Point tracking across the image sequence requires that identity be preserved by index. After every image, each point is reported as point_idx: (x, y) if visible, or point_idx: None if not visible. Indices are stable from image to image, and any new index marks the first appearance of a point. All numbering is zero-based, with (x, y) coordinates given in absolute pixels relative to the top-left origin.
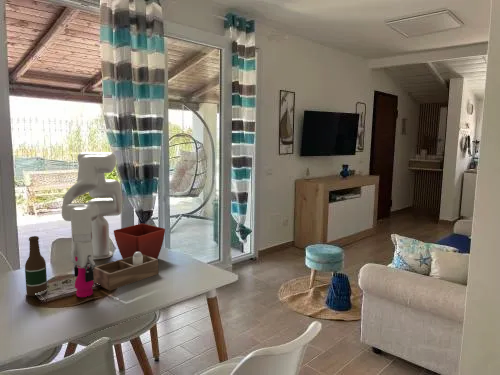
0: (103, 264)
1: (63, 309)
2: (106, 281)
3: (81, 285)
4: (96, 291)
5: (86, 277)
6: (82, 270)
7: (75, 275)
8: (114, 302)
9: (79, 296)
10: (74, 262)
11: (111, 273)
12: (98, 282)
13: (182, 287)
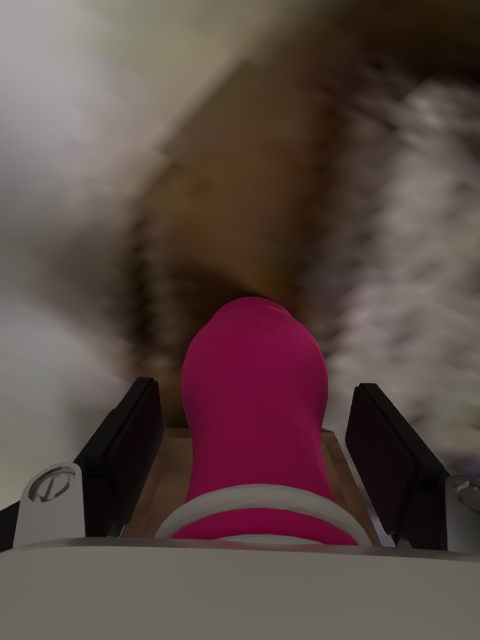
0: None
1: (128, 129)
2: (181, 479)
3: (200, 339)
4: None
5: (118, 411)
6: (201, 472)
7: (363, 390)
8: (33, 382)
9: (233, 301)
10: (407, 606)
11: None
12: None
13: None
